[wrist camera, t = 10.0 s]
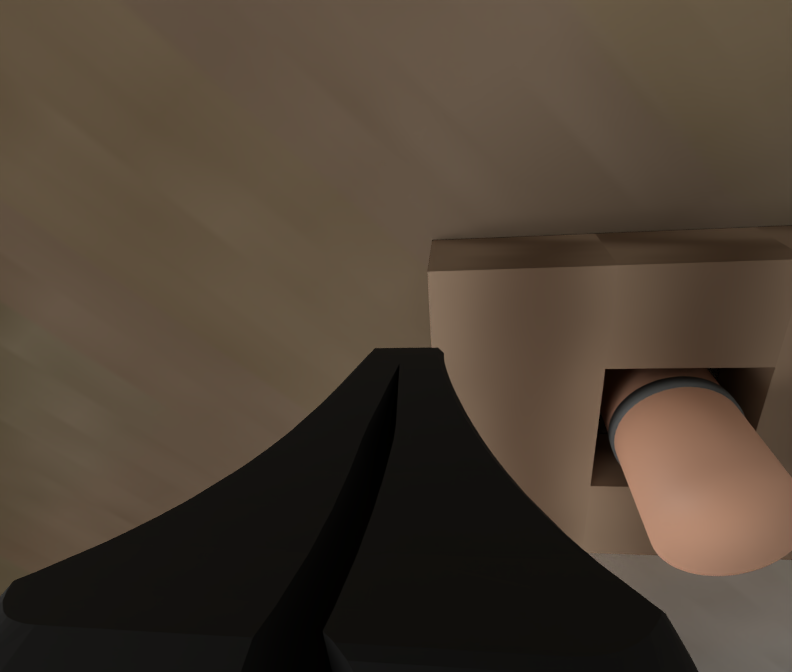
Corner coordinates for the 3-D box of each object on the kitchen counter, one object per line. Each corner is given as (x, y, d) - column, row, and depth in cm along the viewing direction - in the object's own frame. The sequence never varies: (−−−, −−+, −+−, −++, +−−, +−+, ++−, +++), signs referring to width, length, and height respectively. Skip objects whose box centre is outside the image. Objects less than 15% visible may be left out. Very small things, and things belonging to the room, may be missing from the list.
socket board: (443, 493, 24) (441, 547, 22) (431, 240, 19) (427, 271, 16) (828, 501, 22) (877, 562, 19) (946, 219, 16) (1037, 251, 14)
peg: (585, 425, 22) (635, 574, 15) (597, 336, 20) (659, 465, 14) (693, 427, 21) (789, 581, 15) (716, 335, 19) (837, 469, 13)
